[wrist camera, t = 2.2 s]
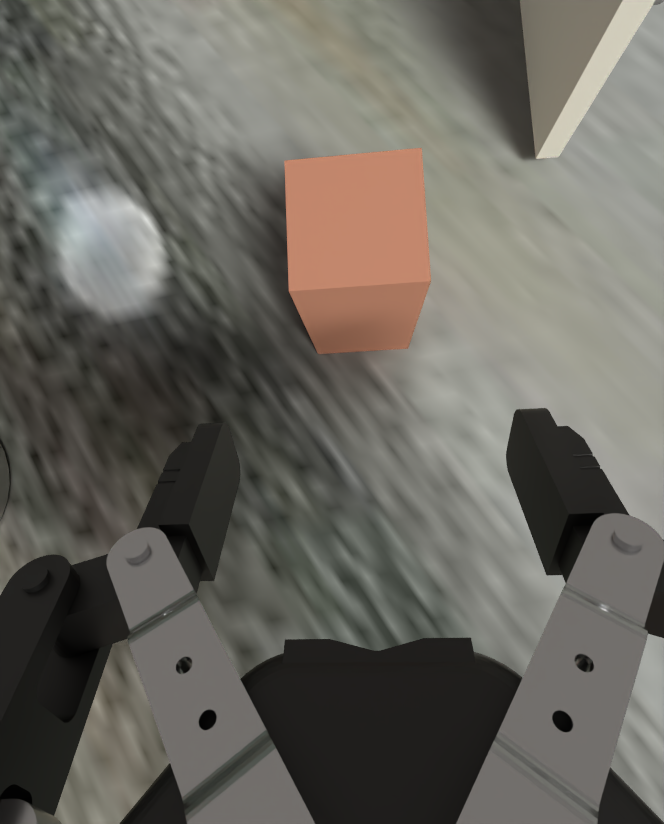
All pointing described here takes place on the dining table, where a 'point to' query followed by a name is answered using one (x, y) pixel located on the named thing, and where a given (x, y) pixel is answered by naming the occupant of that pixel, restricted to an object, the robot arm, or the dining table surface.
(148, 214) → the dining table surface
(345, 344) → the salmon orange block
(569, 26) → the door
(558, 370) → the dining table surface
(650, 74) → the dining table surface
